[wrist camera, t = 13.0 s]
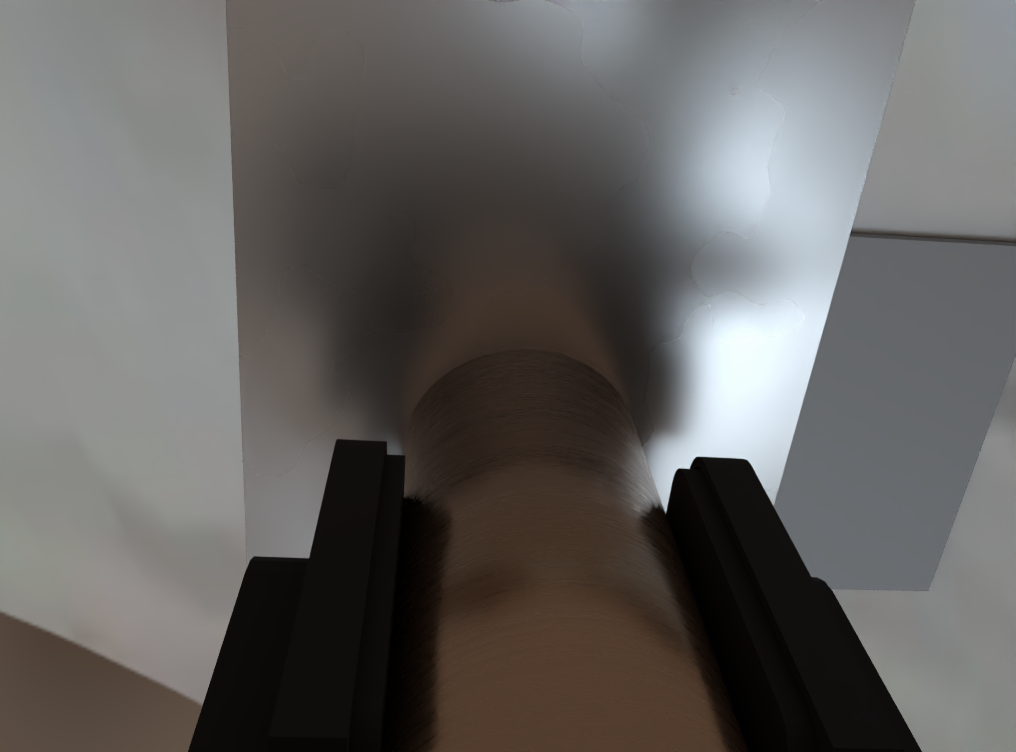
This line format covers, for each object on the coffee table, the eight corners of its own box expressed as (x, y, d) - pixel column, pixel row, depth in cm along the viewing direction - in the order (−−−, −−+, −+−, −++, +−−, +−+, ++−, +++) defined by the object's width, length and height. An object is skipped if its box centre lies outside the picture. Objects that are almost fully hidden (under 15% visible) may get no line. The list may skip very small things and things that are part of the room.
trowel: (923, -187, 9) (2345, -497, 2) (724, 570, 14) (1006, 1256, 7) (239, -275, 9) (-674, -1073, 2) (261, 548, 13) (37, 1282, 6)
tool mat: (1047, 244, 29) (1054, 248, 29) (923, 584, 36) (928, 590, 35) (716, 224, 28) (719, 228, 28) (649, 578, 35) (651, 585, 34)
